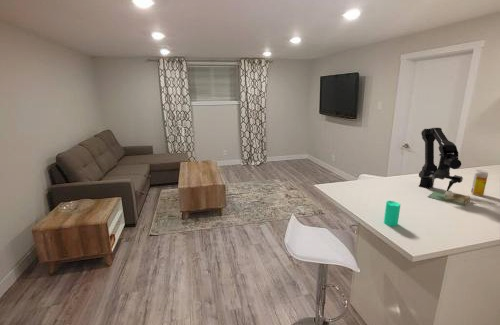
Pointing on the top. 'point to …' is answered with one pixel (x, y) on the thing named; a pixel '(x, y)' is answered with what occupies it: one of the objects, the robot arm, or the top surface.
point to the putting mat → (442, 198)
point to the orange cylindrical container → (479, 182)
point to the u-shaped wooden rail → (458, 198)
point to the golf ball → (449, 193)
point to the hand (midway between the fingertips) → (439, 189)
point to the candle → (392, 213)
